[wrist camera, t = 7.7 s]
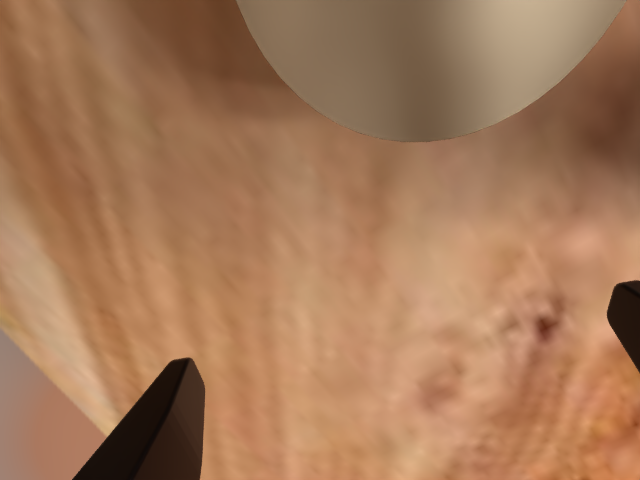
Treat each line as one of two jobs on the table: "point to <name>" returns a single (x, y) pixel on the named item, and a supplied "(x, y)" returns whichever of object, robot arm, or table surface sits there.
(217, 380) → the table surface
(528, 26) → the lid
